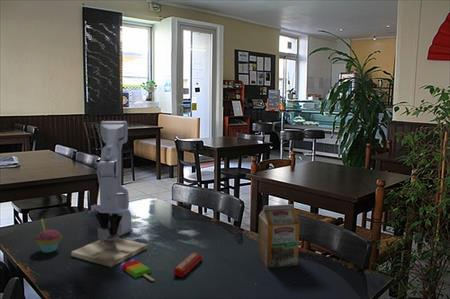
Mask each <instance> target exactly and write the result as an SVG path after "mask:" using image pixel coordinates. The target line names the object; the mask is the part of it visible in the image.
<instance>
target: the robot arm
mask: <svg viewBox="0 0 450 299" xmlns="http://www.w3.org/2000/svg"><path fill="white" fill-rule="evenodd" d="M99 129H100V131H99V132H100V136H101V139H102V141H103V143H105V146H103V148H102V149H101V154H100V160H99V162H97V165H96V174H97V181H98V184H99V204H93V205H90V209H91V212H97V213H96V214H95V215H94V217H95V218H96V220H97V221H98V223H99V225H100V226H99V227H102V226H104V225H107V224H110V229H111V235H112V236H113V235H116V234H117V230H118V226H119V223H121V233H120V234H119V237H120V236H122V235H125V234H127V233H129V232H131V231H133V230H134V228H132V213H131V211H130V210H129V207H130V206H129V204H130V202H129V201H130V197H129V190H128V188H126V187H125V186H123V185H122V149H123V144H126V143H127V142H128V133H129V132H128V131H129V128H128V121H127V120H105V121H104V120H102V121H100V128H99Z"/></svg>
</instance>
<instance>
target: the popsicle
mask: <svg viewBox="0 0 450 299" xmlns="http://www.w3.org/2000/svg"><path fill="white" fill-rule="evenodd" d="M121 269H122V270H123V271H124V272H126V273H128V274H129V275H131V277H133V278H135V279H137V278H141V277H142V276H143V277H144V278H146V279H147V280H149V281H150V282H154V281H155V279H154V278H153V277H151V276H150V275H149V274H151V273H152V269H151V268H150V267H149V266H146V265H145V264H143V263H141V262H140V261H139V260H137V259H136V260H131V261H126V262H124V263H122V265H121Z"/></svg>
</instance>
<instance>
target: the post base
mask: <svg viewBox="0 0 450 299" xmlns="http://www.w3.org/2000/svg"><path fill="white" fill-rule="evenodd" d="M147 249H148V243H147V244H146V243H144V242H143V243H142V242H138V241H133V240H130V239H126V238H120V237H119V239H118V240H117V241H113V242H100V239H98V240H96V241H94V242H91V243H88V244H86V245H85V246H81V247H79V248H77V249H74V250H72V251H71V257H74V258H78V259H82V260H85V261H88V262H92V263H96V264H98V265H102V266H106V267H109V268H113V267H114V266H116V265H118V264H120V263H122V262H125V261H126V260H128V259H131V258H132V257H134V256H136V255H137V254H139V253H141V252H143V251H145V250H147Z"/></svg>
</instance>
